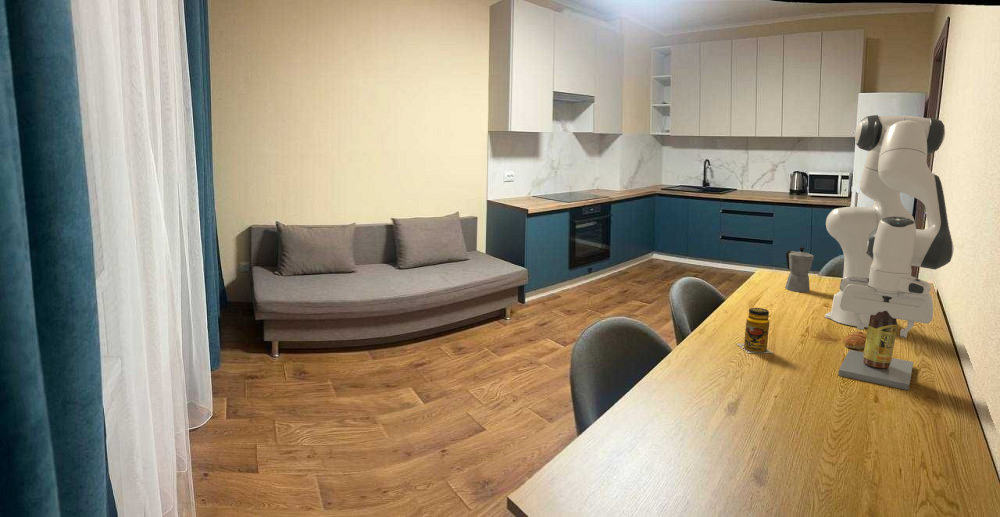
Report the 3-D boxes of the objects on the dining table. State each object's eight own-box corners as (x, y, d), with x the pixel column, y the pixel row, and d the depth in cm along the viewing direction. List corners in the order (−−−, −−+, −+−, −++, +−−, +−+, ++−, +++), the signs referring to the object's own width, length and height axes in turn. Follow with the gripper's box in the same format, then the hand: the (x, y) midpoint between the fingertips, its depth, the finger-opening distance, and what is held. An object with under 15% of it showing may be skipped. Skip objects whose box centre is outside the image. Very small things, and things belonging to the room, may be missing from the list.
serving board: (848, 354, 168) (849, 349, 167) (912, 367, 159) (913, 361, 159) (838, 375, 152) (838, 369, 152) (908, 390, 143) (909, 384, 143)
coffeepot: (818, 293, 241) (823, 249, 238) (798, 294, 239) (803, 250, 236) (792, 284, 256) (797, 243, 253) (773, 285, 254) (777, 244, 251)
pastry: (865, 353, 170) (866, 340, 169) (838, 347, 174) (840, 335, 174) (871, 345, 177) (873, 333, 176) (846, 340, 181) (847, 328, 181)
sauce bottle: (879, 371, 151) (889, 296, 147) (856, 362, 157) (866, 290, 153) (896, 367, 154) (907, 293, 150) (874, 359, 159) (884, 288, 155)
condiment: (748, 353, 167) (752, 312, 165) (735, 343, 175) (739, 304, 173) (773, 353, 167) (778, 313, 165) (759, 344, 176) (763, 305, 173)
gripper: (840, 277, 155) (834, 327, 157) (937, 289, 143) (928, 344, 145) (844, 273, 160) (837, 322, 162) (937, 284, 148) (929, 337, 150)
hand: (881, 332), depth 154 cm, fingers open, 8 cm apart
